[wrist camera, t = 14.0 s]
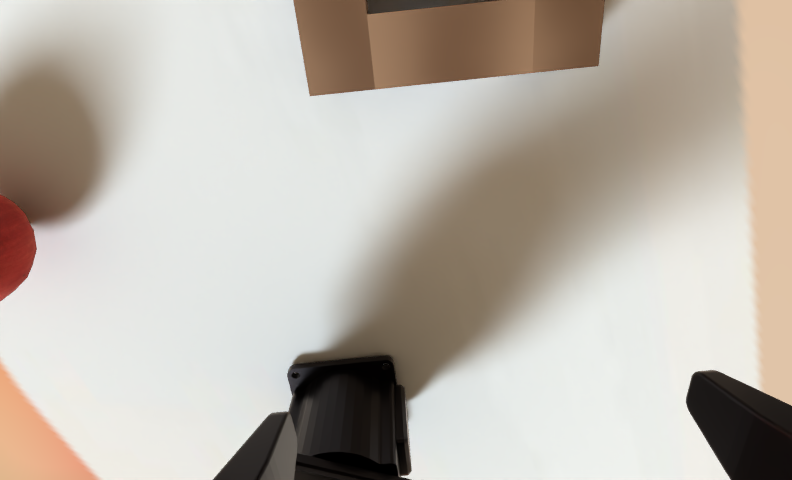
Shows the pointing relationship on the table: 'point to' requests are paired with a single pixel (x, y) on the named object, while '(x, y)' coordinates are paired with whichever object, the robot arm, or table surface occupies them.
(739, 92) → the table surface
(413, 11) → the block
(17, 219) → the onion
